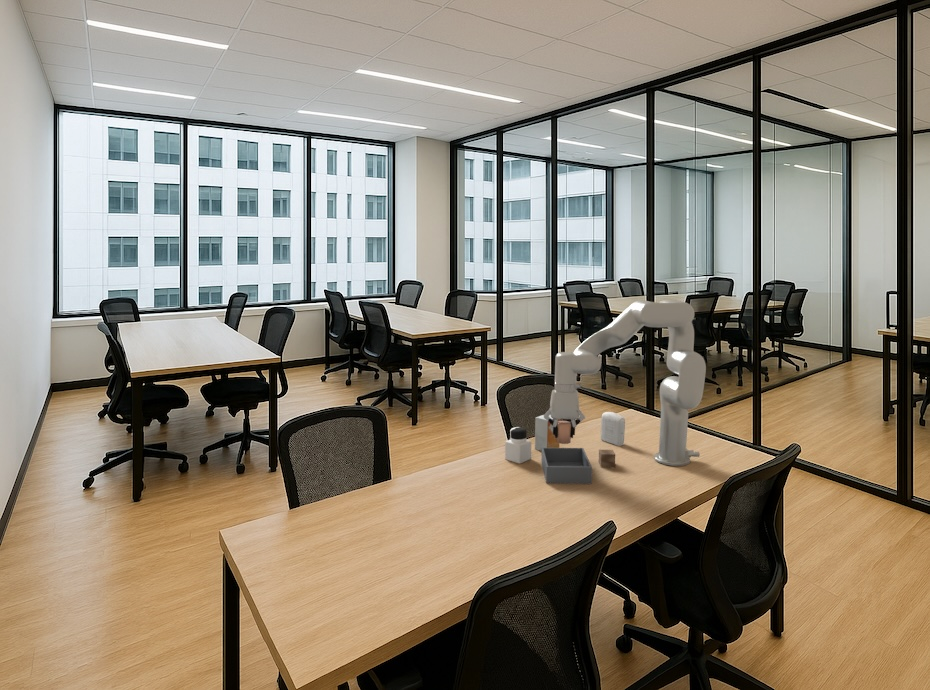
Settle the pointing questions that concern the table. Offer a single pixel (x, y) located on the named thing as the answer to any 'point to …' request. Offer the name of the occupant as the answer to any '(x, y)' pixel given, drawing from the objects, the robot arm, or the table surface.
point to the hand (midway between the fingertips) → (563, 436)
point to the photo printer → (612, 428)
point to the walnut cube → (606, 458)
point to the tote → (566, 465)
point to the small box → (544, 434)
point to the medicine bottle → (518, 446)
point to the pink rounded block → (564, 432)
